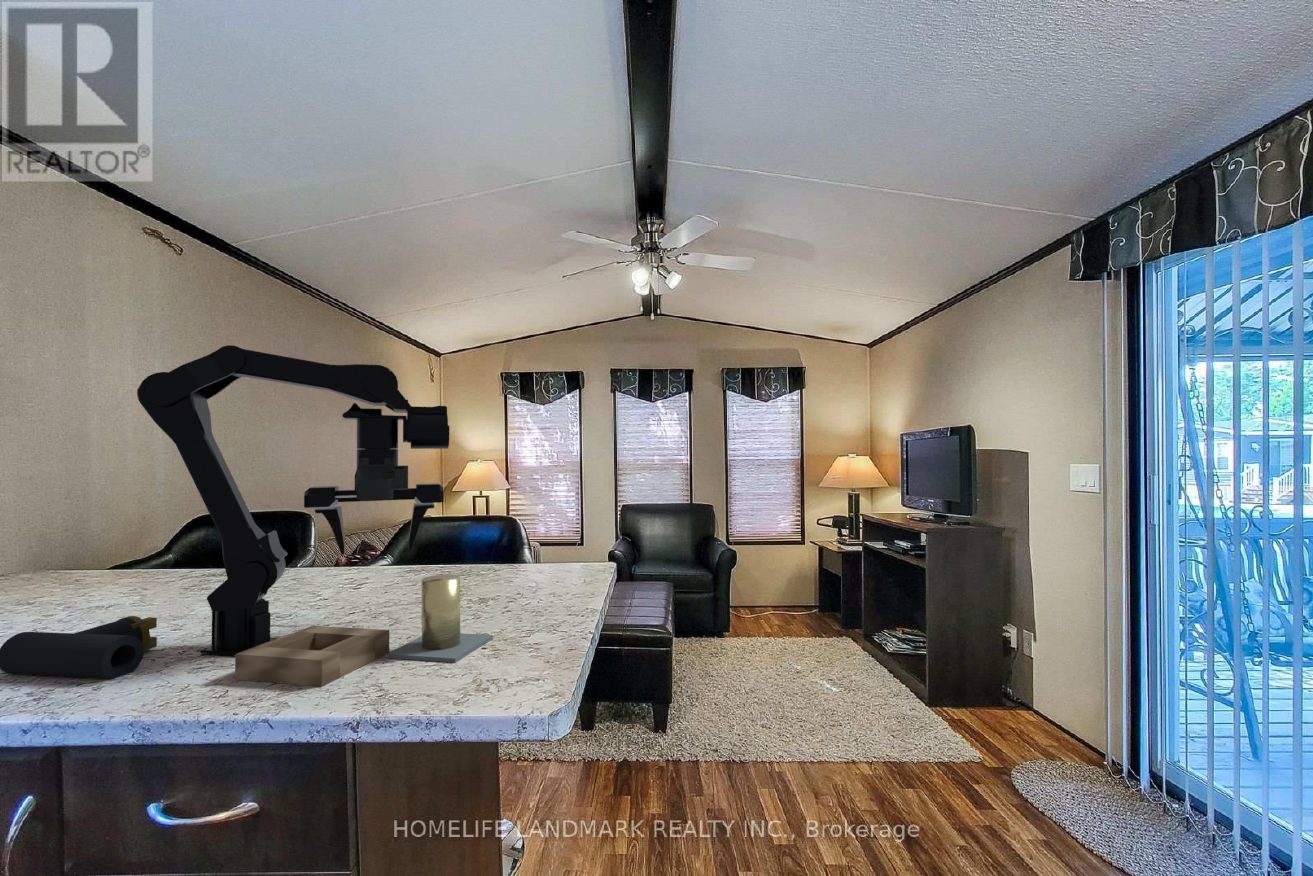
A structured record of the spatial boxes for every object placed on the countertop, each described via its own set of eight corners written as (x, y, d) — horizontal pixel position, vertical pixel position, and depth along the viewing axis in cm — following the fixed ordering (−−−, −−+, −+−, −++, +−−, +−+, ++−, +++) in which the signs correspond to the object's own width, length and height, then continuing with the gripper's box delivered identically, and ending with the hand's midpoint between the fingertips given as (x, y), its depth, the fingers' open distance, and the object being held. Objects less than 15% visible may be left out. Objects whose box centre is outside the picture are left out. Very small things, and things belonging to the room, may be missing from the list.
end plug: (414, 649, 79) (413, 582, 79) (435, 637, 84) (434, 574, 84) (448, 651, 78) (447, 583, 78) (467, 639, 83) (466, 575, 83)
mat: (386, 657, 77) (386, 654, 77) (430, 635, 87) (430, 631, 87) (455, 662, 75) (455, 658, 75) (492, 638, 85) (492, 635, 85)
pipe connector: (98, 611, 83) (191, 614, 81) (98, 648, 83) (191, 652, 81) (-4, 638, 72) (101, 642, 70) (-4, 681, 72) (101, 687, 70)
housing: (235, 679, 70) (235, 654, 70) (313, 647, 82) (313, 625, 82) (321, 686, 68) (321, 660, 68) (389, 652, 80) (389, 630, 80)
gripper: (298, 448, 79) (297, 566, 78) (445, 448, 86) (446, 555, 86) (310, 449, 89) (309, 553, 89) (441, 449, 96) (441, 545, 96)
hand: (377, 552), depth 89 cm, fingers open, 9 cm apart
